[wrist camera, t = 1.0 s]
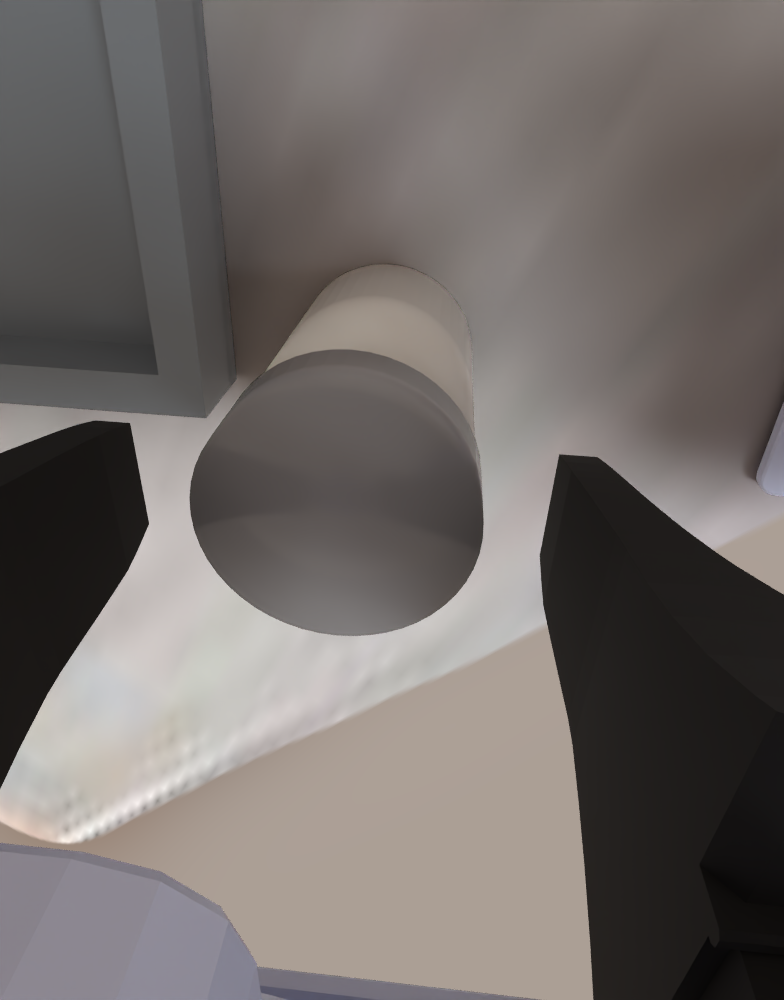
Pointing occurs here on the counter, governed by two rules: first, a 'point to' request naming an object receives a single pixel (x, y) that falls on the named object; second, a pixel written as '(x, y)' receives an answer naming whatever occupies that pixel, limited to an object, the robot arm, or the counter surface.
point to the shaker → (351, 463)
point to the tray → (110, 210)
